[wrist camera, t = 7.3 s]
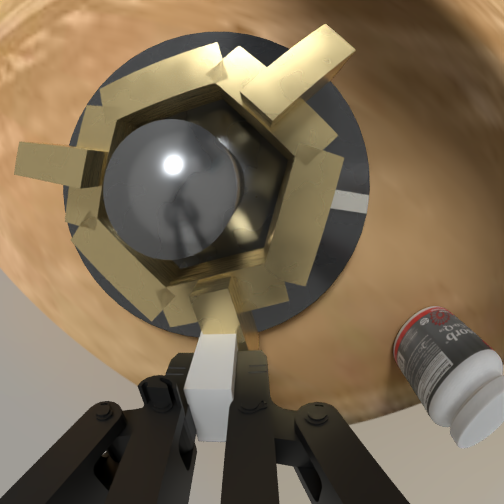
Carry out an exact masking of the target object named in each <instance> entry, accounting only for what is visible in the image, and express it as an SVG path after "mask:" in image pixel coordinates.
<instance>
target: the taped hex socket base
mask: <svg viewBox="0 0 504 504" xmlns="http://www.w3.org/2000/svg"><path fill="white" fill-rule="evenodd" d="M355 51H356V50H355V49H354V48H353V47H352V46H351V45H350V44H349V43H348V42H346V41H345V40H344V39H343V38H342V37H341V36H340V35H338V34H337V33H336V32H335V31H334V30H333V29H331V28H330V27H329V26H328V25H326V24H324V25H322V26H321V27H320V28H318V29H317V30H315V31H314V32H312V33H311V34H310V35H308V36H307V37H306V38H304V39H303V40H301V41H300V42H299V43H297V44H296V45H295V46H293V47H292V48H291V49H290V50H288V51H287V52H286V53H284V54H283V55H282V56H281V57H279V58H278V59H277V60H276V61H274V62H273V63H272V64H271V65H270V66H268V67H266V66H264V65H263V64H262V63H261V62H259V61H258V60H257V59H256V58H254V57H253V56H252V55H251V54H249V53H248V52H247V51H245V50H244V49H243V48H242V47H240V46H238V47H237V48H235V49H234V50H233V51H232V52H231V53H229V54H228V55H227V56H226V57H225V58H224V59H222V56H221V52H220V49H219V46H218V43H217V42H216V43H212V44H209V45H206V46H202V47H199V48H196V49H193V50H190V51H187V52H184V53H181V54H178V55H175V56H173V57H170V58H167V59H165V60H162V61H159V62H157V63H154V64H152V65H150V66H147V67H145V68H142V69H140V70H138V71H136V72H133V73H131V74H129V75H127V76H125V77H123V78H121V79H118V80H116V81H114V82H112V83H110V84H108V85H106V86H105V87H103V88H101V89H100V94H101V100H102V106H92V105H87V106H86V110H85V114H84V117H83V121H82V125H81V129H80V133H79V137H78V142H77V146H69V145H60V144H48V143H34V142H19V147H18V152H17V158H16V165H15V172H14V175H19V176H24V177H29V178H33V179H38V180H43V181H48V182H52V183H57V184H61V185H66V186H69V191H68V198H67V206H66V216H65V222H68V223H71V224H74V225H78V226H79V227H78V229H77V231H76V232H75V234H74V235H73V237H72V239H71V241H72V242H73V244H74V245H75V246H76V247H77V248H78V249H79V250H80V251H81V252H82V254H83V255H84V256H85V257H86V258H87V259H88V260H89V261H90V262H91V263H92V264H93V265H94V266H95V267H96V269H97V270H98V271H99V272H100V273H101V274H102V275H103V276H104V277H105V278H106V279H107V280H108V281H109V282H110V283H111V284H112V285H113V286H114V287H115V288H116V289H117V290H118V291H119V292H120V293H121V294H122V295H123V296H124V297H125V298H126V299H128V300H129V301H130V302H131V303H132V304H133V305H134V306H135V307H136V308H137V309H138V310H139V311H140V312H141V313H143V314H144V315H145V316H146V317H147V318H148V319H149V320H150V321H151V322H152V321H153V320H154V319H155V317H156V316H157V315H158V314H159V313H160V312H161V311H162V310H163V311H164V314H165V316H166V319H167V321H168V323H169V326H170V327H175V326H180V325H185V324H190V323H195V322H198V323H199V326H200V328H201V331H202V333H203V334H236V336H237V346H238V351H251V350H259V334H258V331H257V327H256V324H255V321H254V318H253V314H252V311H251V310H254V309H259V308H263V307H267V306H271V305H275V304H279V303H283V302H287V301H289V298H288V294H287V290H286V286H285V282H289V283H293V284H297V285H302V286H306V283H307V280H308V277H309V274H310V271H311V268H312V265H313V262H314V259H315V256H316V253H317V250H318V247H319V244H320V241H321V237H322V234H323V231H324V228H325V224H326V221H327V218H328V214H329V211H330V208H331V204H332V201H333V197H334V194H335V190H336V187H337V183H338V180H339V176H340V172H341V169H342V165H343V161H344V157H341V156H338V155H335V154H332V153H329V152H326V151H323V149H324V148H325V147H327V146H328V145H329V144H330V143H331V142H332V141H333V140H334V139H335V138H336V137H337V136H338V134H337V133H336V132H335V131H334V130H333V129H332V128H331V127H330V126H329V125H328V124H327V123H326V122H325V121H324V120H323V119H322V118H321V117H320V116H319V115H318V114H317V113H316V112H315V111H314V110H313V109H312V108H311V107H310V106H309V105H308V104H307V103H306V102H307V101H308V100H309V99H310V98H311V97H312V96H313V95H315V94H316V93H317V92H318V91H319V90H320V89H322V88H323V87H324V86H325V85H326V84H327V83H329V82H330V81H331V80H332V79H333V78H334V76H335V75H336V74H337V73H338V71H339V70H340V69H341V68H342V66H343V65H344V64H345V63H346V62H347V60H348V59H349V58H350V57H351V55H352V54H353V53H354V52H355ZM222 99H223V100H224V101H225V102H226V103H227V104H229V105H230V106H231V107H232V108H233V109H234V110H235V111H236V112H238V113H239V114H240V115H241V116H242V117H243V118H244V119H245V120H246V121H247V122H249V123H250V124H251V125H252V126H253V127H254V128H255V129H256V130H257V131H258V132H259V133H260V134H261V135H262V136H264V137H265V138H266V139H267V140H268V141H269V142H270V143H271V144H272V145H273V146H274V147H275V148H276V149H277V150H278V151H279V152H280V153H281V154H282V155H283V156H284V157H285V158H286V159H287V160H288V162H287V166H286V169H285V173H284V177H283V180H282V184H281V187H280V191H279V195H278V198H277V202H276V206H275V209H274V213H273V216H272V220H271V223H270V227H269V231H268V234H267V238H266V241H265V245H264V247H262V248H258V249H255V250H251V251H247V252H243V253H239V254H235V255H232V256H228V257H224V258H220V259H216V260H212V261H208V262H205V263H201V264H197V265H193V266H189V267H185V268H182V269H181V268H180V267H179V266H178V265H177V264H176V263H175V262H174V261H173V260H163V259H156V258H152V257H149V256H146V255H143V254H141V253H139V252H138V251H136V250H134V249H133V248H131V247H130V246H129V245H128V244H126V243H125V242H124V241H123V240H122V239H121V237H120V236H119V235H118V234H117V233H116V231H115V229H114V228H113V226H112V224H111V222H110V220H109V218H108V215H107V212H106V209H105V204H104V196H103V184H104V177H105V173H106V169H107V166H108V163H109V161H110V159H111V157H112V155H113V153H114V151H115V150H116V149H117V147H118V146H119V144H120V143H121V142H122V141H123V140H124V139H125V138H126V137H127V136H128V135H129V134H131V133H132V132H133V131H135V130H136V129H138V128H140V127H141V126H144V125H146V124H148V123H151V122H154V121H158V120H162V119H165V118H168V117H170V116H173V115H176V114H179V113H181V112H184V111H187V110H190V109H193V108H196V107H199V106H202V105H205V104H209V103H212V102H215V101H219V100H222ZM284 281H285V282H284Z"/></svg>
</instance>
